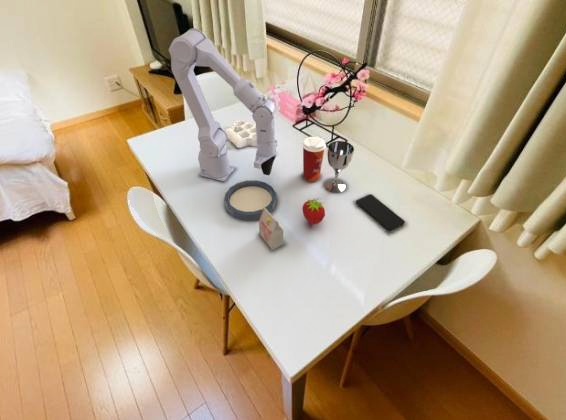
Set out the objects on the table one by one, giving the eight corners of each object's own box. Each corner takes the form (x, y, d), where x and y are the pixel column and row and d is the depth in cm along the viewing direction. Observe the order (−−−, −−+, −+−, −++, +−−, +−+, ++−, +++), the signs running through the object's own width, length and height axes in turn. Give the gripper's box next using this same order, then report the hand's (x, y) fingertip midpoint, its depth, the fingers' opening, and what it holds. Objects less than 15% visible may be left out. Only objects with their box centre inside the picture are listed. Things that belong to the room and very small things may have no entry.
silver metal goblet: (351, 185, 104) (359, 147, 93) (337, 196, 99) (344, 158, 89) (332, 175, 108) (338, 138, 97) (318, 185, 103) (322, 147, 93)
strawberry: (313, 212, 94) (315, 187, 87) (327, 228, 89) (331, 203, 82) (297, 219, 92) (298, 194, 85) (311, 236, 87) (313, 210, 80)
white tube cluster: (219, 133, 127) (248, 123, 133) (241, 153, 117) (272, 141, 123) (217, 126, 125) (248, 116, 131) (240, 145, 114) (272, 134, 121)
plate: (216, 212, 93) (215, 206, 91) (239, 182, 104) (239, 176, 102) (264, 226, 89) (263, 220, 88) (283, 193, 100) (283, 187, 98)
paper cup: (320, 184, 104) (324, 149, 94) (298, 181, 105) (300, 146, 95) (323, 171, 109) (327, 136, 100) (302, 168, 110) (304, 134, 101)
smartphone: (370, 193, 100) (406, 221, 90) (370, 195, 100) (405, 223, 91) (354, 200, 97) (389, 230, 88) (354, 202, 97) (388, 232, 88)
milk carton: (270, 229, 89) (270, 204, 82) (283, 244, 84) (283, 219, 78) (259, 234, 87) (258, 209, 80) (271, 250, 83) (271, 225, 76)
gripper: (268, 153, 89) (269, 189, 98) (285, 130, 99) (285, 164, 108) (246, 148, 91) (249, 184, 100) (265, 126, 100) (267, 160, 110)
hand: (266, 173), depth 104 cm, fingers closed
